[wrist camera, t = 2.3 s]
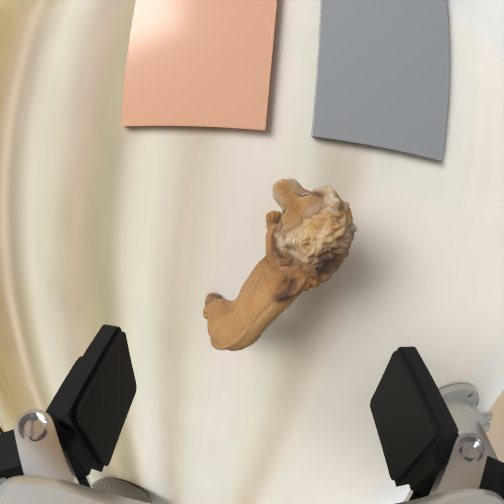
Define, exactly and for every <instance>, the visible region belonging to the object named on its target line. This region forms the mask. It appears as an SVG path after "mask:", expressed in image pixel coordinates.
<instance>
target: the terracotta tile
mask: <svg viewBox="0 0 504 504" xmlns="http://www.w3.org/2000/svg"><path fill="white" fill-rule="evenodd" d="M276 8H277V0H136V4H135V9H134V15H133V21H132V26H131V33H130V39H129V46H128V54H127V62H126V71H125V80H124V91H123V104H122V120H121V126H205V127H226V128H241V129H254V130H265V128H266V117H267V106H268V95H269V85H270V74H271V63H272V52H273V41H274V30H275V19H276Z"/></svg>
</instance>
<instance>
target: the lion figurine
mask: <svg viewBox="0 0 504 504" xmlns="http://www.w3.org/2000/svg"><path fill="white" fill-rule="evenodd" d="M272 190H273V197H274V199H275V200H276V202H277V203H278V204H279V205H280V206H281V208H282V213H281V214H280V212H279V211H277V212H275V211H272V212H270V213H267V215H266V222H267V229H268V231H267V234H266V256H265V257H264V258H263V259H262V260H261V261H260V262H259V263H258V264H257V265H256V267H255V268H254V270H253V271H252V273H251V274H250V275H249V277H248V279H247V280H246V281H245V283H244V284H243V286H242V288H241V290H240V293H239V295H238V297H237V298H236V299H235V300H234V301H229V300H226V299H220V297H219V295H218V294H214V293H211V294H208V295H207V297H206V300H205V309H204V310H203V315H204V318H206V319H208V333H209V336H210V337H211V344H212V346H213V347H214V348H215V349H219V350H226V349H227V350H230V351H236V350H241V349H244V348H246V347H248V346H250V345H252V344H253V343H254V342H256V341H257V340H258V338H259V337H260V336H261V334H262V332H263V331H264V330H265V329H266V328H267V326H268V325H269V324H270V323H271V322H272V321H273V320H275V319H276V318H277V317H278V316H279V315H280V314H281V313H282V312H283V311H284V310H285V309H286V308H288V307H289V306H290V305H291V303H292V302H293V301H294V300H295V299H296V298H297V297H298V296H299V295H300V294H301V293H302V292H303V291H307V290H308V289H309V288H310V287H318V285H319V284H320V283H321V282H325V281H327V280H328V279H329V278H330V276H331V274H332V273H334V272H335V271H337V269H338V267H339V266H340V265H341V263H342V262H343V259H344V258H345V257H347V256H348V249H349V248H350V245H351V242H352V240H353V238H354V232H356V230H357V228H356V226H355V225H354V224H353V218H352V214H351V210H350V208H349V203H347V202H344V201H342V200H341V198H340V197H339V196H338V195H337V192H336V191H335V190H333V189H332V187H331V186H329V185H327V186H324V187H320V188H319V189H313V190H312V191H311V192H310V191H308V190H306V189H304V188H303V187H302V186H301V185H300V184H299V183H298V182H297V181H296V180H295V179H282V180H279V181H277V182H276V183H275V184H274V185H273V189H272Z"/></svg>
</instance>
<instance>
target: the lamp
mask: <svg viewBox="0 0 504 504" xmlns="http://www.w3.org/2000/svg"><path fill="white" fill-rule="evenodd" d="M92 486H93V488H94V489H97V490H101V491H104V492H107V493H111V494H114V495H118V496H122V497H126V498H130V499H134V500H138V501H142V502H147V503H151V504H153V503H152V501H151V499H150V497H149V496H148V494H147V493H146V492H144V491H143V490H142V489H140V488H139V487H137V486H135V485H133V484H131V483H129V482H126V481H123V480H120V479H116V478H102V479H99V480H97V481H96V482H94V483H93V484H92Z"/></svg>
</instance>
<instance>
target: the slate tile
mask: <svg viewBox="0 0 504 504" xmlns="http://www.w3.org/2000/svg"><path fill="white" fill-rule="evenodd" d="M449 69H450V52H449V24H448V10H447V0H321V2H320V24H319V42H318V58H317V73H316V86H315V98H314V110H313V121H312V132H311V136H315V137H322V138H329V139H336V140H343V141H349V142H355V143H361V144H366V145H372V146H377V147H382V148H387V149H392V150H397V151H402V152H406V153H411V154H415V155H419V156H424V157H428V158H432V159H436V160H440V161H442V158H443V151H444V143H445V134H446V124H447V113H448V98H449Z"/></svg>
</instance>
